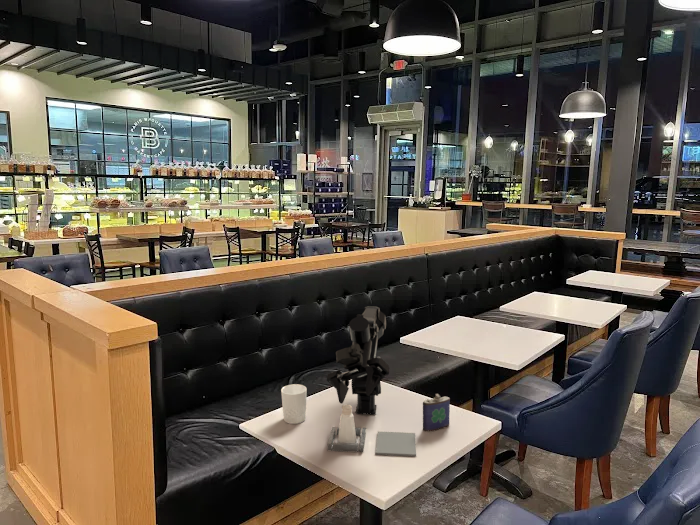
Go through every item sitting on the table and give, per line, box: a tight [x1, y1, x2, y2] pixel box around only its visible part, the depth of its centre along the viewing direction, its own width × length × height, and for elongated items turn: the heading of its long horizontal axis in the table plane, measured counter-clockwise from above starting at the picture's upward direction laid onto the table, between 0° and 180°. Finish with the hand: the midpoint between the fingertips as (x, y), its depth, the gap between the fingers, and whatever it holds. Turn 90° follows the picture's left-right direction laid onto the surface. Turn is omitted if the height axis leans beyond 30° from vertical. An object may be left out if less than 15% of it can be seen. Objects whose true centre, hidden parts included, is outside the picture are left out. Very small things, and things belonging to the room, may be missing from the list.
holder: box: [327, 426, 367, 453], centre depth 150 cm, size 10×10×2 cm
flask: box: [422, 393, 451, 433], centre depth 158 cm, size 9×3×11 cm, turn 114°
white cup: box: [280, 383, 308, 425], centre depth 164 cm, size 8×8×10 cm
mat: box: [375, 430, 417, 457], centre depth 149 cm, size 12×11×1 cm
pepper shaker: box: [337, 404, 357, 443], centre depth 150 cm, size 5×5×11 cm
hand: (353, 398), depth 144 cm, fingers open, 9 cm apart
